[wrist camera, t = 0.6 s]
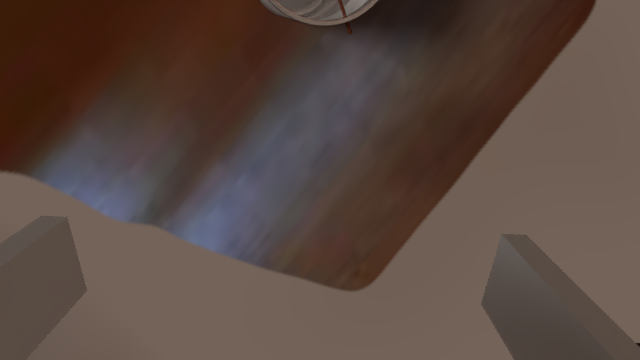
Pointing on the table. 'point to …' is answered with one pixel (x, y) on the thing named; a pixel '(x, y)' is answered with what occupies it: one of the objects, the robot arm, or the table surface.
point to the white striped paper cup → (320, 10)
